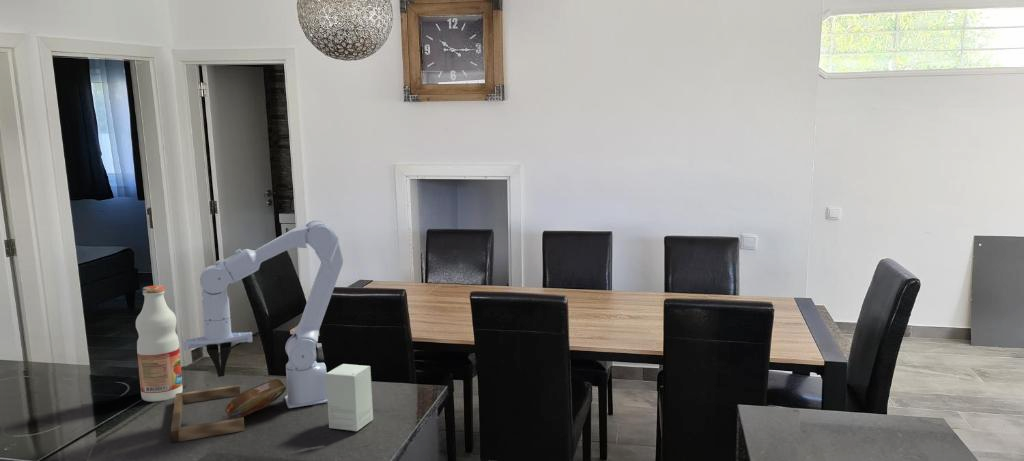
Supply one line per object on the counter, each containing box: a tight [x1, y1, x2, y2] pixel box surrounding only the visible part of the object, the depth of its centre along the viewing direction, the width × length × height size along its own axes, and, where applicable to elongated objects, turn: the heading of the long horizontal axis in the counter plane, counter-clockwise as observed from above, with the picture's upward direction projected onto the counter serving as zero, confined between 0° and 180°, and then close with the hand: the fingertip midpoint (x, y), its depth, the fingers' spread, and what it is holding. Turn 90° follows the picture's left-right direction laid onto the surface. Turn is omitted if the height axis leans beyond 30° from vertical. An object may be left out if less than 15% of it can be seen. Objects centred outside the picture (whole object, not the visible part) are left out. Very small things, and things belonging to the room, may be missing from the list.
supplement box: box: [326, 363, 374, 432], centre depth 155 cm, size 7×7×13 cm
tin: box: [225, 378, 287, 419], centre depth 162 cm, size 15×3×8 cm
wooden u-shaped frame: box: [170, 384, 246, 444], centre depth 162 cm, size 14×25×2 cm, turn 23°
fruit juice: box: [135, 284, 184, 402], centre depth 174 cm, size 9×9×28 cm
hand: (221, 375), depth 162 cm, fingers closed
